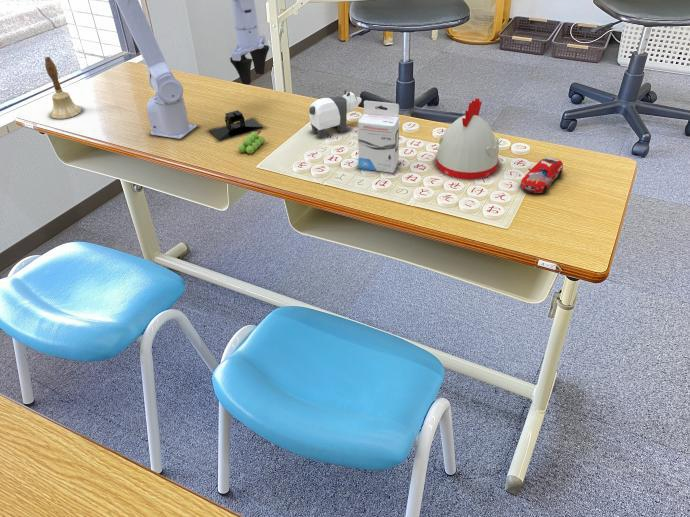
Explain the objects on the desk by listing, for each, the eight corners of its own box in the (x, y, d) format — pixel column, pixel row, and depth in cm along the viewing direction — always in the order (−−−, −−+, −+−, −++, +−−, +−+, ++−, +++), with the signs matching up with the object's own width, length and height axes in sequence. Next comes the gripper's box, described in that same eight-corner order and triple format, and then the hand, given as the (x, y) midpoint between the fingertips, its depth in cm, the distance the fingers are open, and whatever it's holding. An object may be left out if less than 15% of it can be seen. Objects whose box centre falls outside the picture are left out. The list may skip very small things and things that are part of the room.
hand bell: (87, 110, 169) (69, 54, 159) (63, 121, 163) (43, 64, 154) (69, 105, 172) (50, 50, 163) (44, 115, 167) (23, 59, 157)
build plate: (219, 141, 150) (216, 124, 147) (209, 131, 155) (205, 114, 152) (263, 128, 155) (261, 111, 152) (251, 118, 160) (249, 102, 157)
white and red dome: (506, 158, 137) (515, 96, 128) (483, 184, 128) (490, 120, 119) (451, 145, 143) (456, 85, 134) (425, 169, 134) (429, 107, 125)
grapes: (237, 153, 144) (235, 140, 142) (254, 138, 150) (252, 125, 148) (252, 155, 143) (250, 142, 141) (268, 140, 149) (266, 127, 147)
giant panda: (316, 140, 148) (314, 104, 142) (307, 132, 152) (304, 96, 146) (366, 126, 153) (366, 90, 148) (356, 118, 157) (355, 84, 152)
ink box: (357, 169, 136) (356, 108, 127) (363, 159, 139) (362, 99, 130) (393, 173, 133) (394, 112, 124) (399, 163, 137) (400, 103, 128)
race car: (539, 198, 123) (542, 182, 120) (515, 190, 126) (518, 174, 123) (566, 173, 131) (569, 157, 128) (543, 166, 133) (546, 150, 131)
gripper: (246, 36, 143) (253, 90, 151) (273, 19, 154) (278, 70, 162) (221, 34, 145) (229, 87, 153) (249, 17, 156) (256, 68, 164)
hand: (253, 78), depth 158 cm, fingers open, 7 cm apart
